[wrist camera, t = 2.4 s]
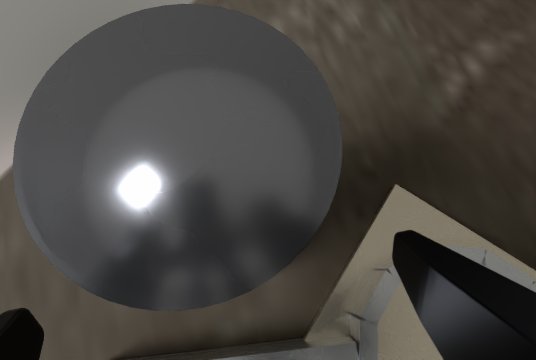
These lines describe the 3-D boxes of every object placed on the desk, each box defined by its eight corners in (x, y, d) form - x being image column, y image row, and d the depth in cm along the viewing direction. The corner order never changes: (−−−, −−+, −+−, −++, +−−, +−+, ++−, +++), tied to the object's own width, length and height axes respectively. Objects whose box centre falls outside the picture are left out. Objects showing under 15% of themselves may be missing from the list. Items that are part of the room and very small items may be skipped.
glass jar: (303, 216, 18) (398, 100, 6) (248, 301, 17) (215, 392, 4) (225, 164, 19) (156, -41, 6) (167, 242, 18) (-62, 178, 5)
